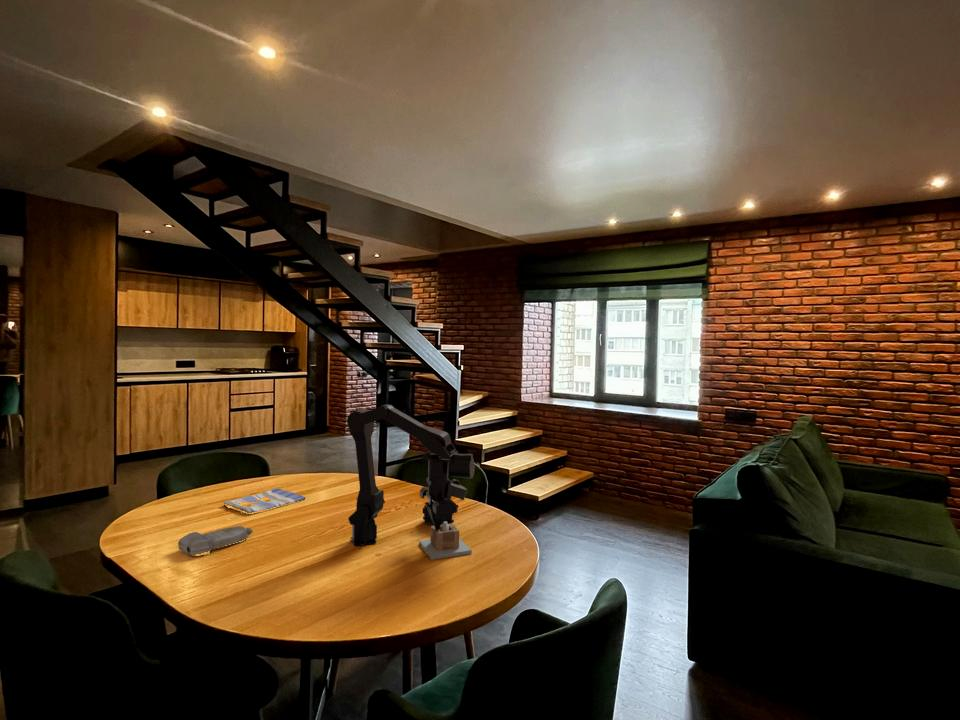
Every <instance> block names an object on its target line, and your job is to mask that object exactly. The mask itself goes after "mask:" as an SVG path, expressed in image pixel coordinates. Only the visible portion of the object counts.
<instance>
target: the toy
mask: <svg viewBox="0 0 960 720" xmlns="http://www.w3.org/2000/svg"><path fill="white" fill-rule="evenodd" d="M445 499H447V498H445ZM447 500H448V499H447ZM455 504H456V505H457V506H458V507H459V504H457V503H455ZM422 514H423V516H422V520H423V521H424V523H425V524H428V525H430V526H434V525H433V522H432V519H431V517H430V514H429V512H428V510H427V507H426V505H424V507H422ZM453 515H455V513H452V514H444V516H443V519H442V522H441V525H442V524H443V522H447V524H451V523H452V524H454V523H455V519H453Z"/></svg>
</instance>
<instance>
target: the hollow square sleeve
mask: <svg viewBox="0 0 960 720" xmlns="http://www.w3.org/2000/svg"><path fill="white" fill-rule="evenodd" d="M448 525H449V530H447V531H442V525H440V528H439V529H437V530H436V529H435V527H434V526H432V525H430V539H431V544H432V545H433V546H434V547H435V549H436V550H437V551H442V550H448V549H455V548H459V538H460V530H459V529H458V528H457V527H456V526H455V524H454V523H451V524H448Z"/></svg>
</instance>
